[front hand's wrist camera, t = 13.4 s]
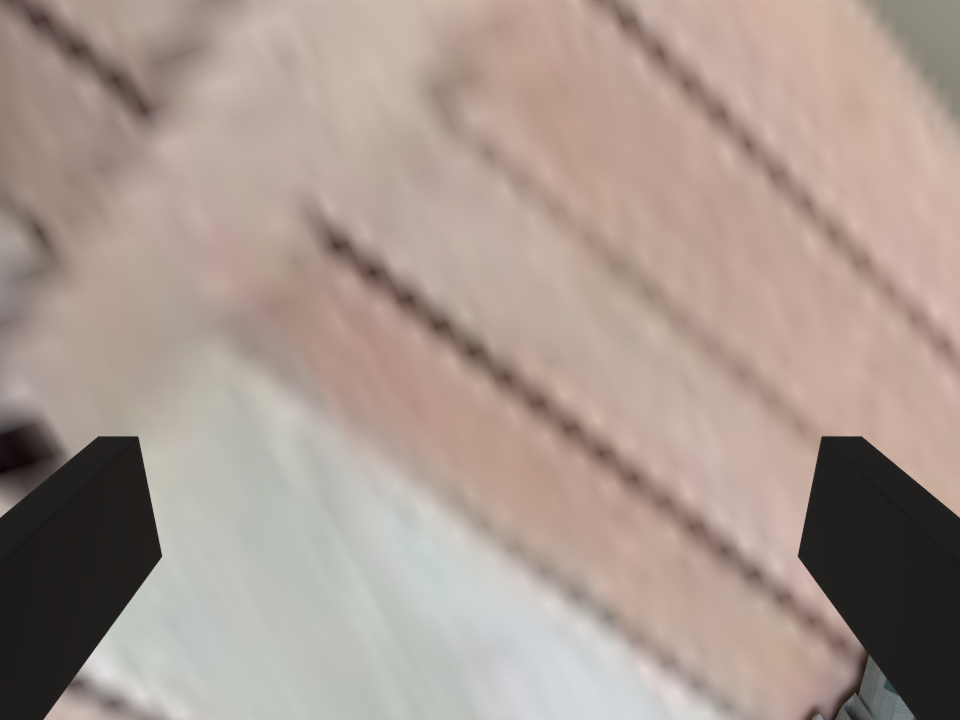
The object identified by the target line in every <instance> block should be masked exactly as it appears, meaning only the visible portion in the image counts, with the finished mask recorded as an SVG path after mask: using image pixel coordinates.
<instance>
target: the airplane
mask: <svg viewBox="0 0 960 720" xmlns="http://www.w3.org/2000/svg"><path fill="white" fill-rule="evenodd" d="M812 720H824V718H823V716H822V715H821V713H820V714H817V715H815V716H814V717H813V718H812ZM835 720H916V718H915V717H914V715H913V714H912V713H911V711H910V710H909V709H908V707H907V706H906V704H905V703H904V702H903V700H902V699H901V698H900V696H899V695H898V693H897V692H896V691H895V689H894V688H893V687H892V685H891V684H890V682H889V681H888V680H887V678H886V677H885V676H884V674H883V673H882V671H881V670H880V669H879V667H878V666H877V665H876V663H875V662H874V660H873V659H872V658H871V656H870V655H869V657H868V661H867V665H866V669H865V673H864V677H863V680H862V684H861V688H860V691H859V695H858V696H857V694H856V693H854V695H853V696H852V697H851V698H850V699H849V700H848V701H847V702H846V703H845V704H843V705H842V707H841V709H840V711H839V713H838V715H837V717H836V719H835Z"/></svg>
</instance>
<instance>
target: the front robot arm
mask: <svg viewBox="0 0 960 720" xmlns="http://www.w3.org/2000/svg"><path fill="white" fill-rule="evenodd" d="M161 557H162V553H161V548H160V543H159V538H158V533H157V528H156V523H155V518H154V513H153V508H152V503H151V498H150V493H149V488H148V483H147V478H146V473H145V468H144V463H143V458H142V453H141V448H140V443H139V438H138V436H98V437H97V438H96V439H95V440H93V441H92V442H91V443H90V444H89V445H87V446H86V447H85V448H84V449H83V450H81V451H80V452H79V453H78V454H77V455H75V456H74V457H73V458H72V459H71V460H69V461H68V462H67V463H66V464H65V465H63V466H62V467H61V468H60V469H59V470H57V471H56V472H55V473H54V474H52V475H51V476H50V477H49V478H48V479H46V480H45V481H44V482H43V483H42V484H40V485H39V486H38V487H37V488H36V489H34V490H33V491H32V492H31V493H30V494H28V495H27V496H26V497H25V498H24V499H22V500H21V501H20V502H19V503H18V504H16V505H15V506H14V507H13V508H12V509H10V510H9V511H8V512H7V513H5V514H4V515H3V516H2V517H1V518H0V720H44V718H45V717H46V715H47V714H48V713H49V711H50V710H51V709H52V707H53V706H54V704H55V703H56V702H57V700H58V699H59V698H60V696H61V695H62V693H63V692H64V691H65V689H66V688H67V687H68V685H69V684H70V682H71V681H72V680H73V678H74V677H75V676H76V674H77V673H78V671H79V670H80V669H81V667H82V666H83V665H84V663H85V662H86V660H87V659H88V658H89V656H90V655H91V654H92V652H93V651H94V649H95V648H96V647H97V645H98V644H99V643H100V641H101V640H102V638H103V637H104V636H105V634H106V633H107V632H108V630H109V629H110V627H111V626H112V625H113V623H114V622H115V621H116V619H117V618H118V616H119V615H120V614H121V612H122V611H123V610H124V608H125V607H126V606H127V604H128V603H129V601H130V600H131V599H132V597H133V596H134V595H135V593H136V592H137V590H138V589H139V588H140V586H141V585H142V584H143V582H144V581H145V579H146V578H147V577H148V575H149V574H150V573H151V571H152V570H153V568H154V567H155V566H156V564H157V563H158V562H159V560H160V559H161ZM798 557H799V559H800V560H801V562H802V563H803V564H804V566H805V567H806V568H807V570H808V571H809V573H810V574H811V575H812V577H813V578H814V579H815V581H816V582H817V584H818V585H819V586H820V588H821V589H822V590H823V592H824V593H825V595H826V596H827V597H828V599H829V600H830V601H831V603H832V604H833V606H834V607H835V608H836V610H837V611H838V612H839V614H840V615H841V616H842V618H843V619H844V621H845V622H846V623H847V625H848V626H849V627H850V629H851V630H852V632H853V633H854V634H855V636H856V637H857V638H858V640H859V641H860V643H861V644H862V645H863V647H864V648H865V649H866V651H867V652H868V654H869V655H870V656H871V658H872V659H873V660H874V662H875V663H876V665H877V666H878V667H879V669H880V670H881V671H882V673H883V674H884V676H885V677H886V678H887V680H888V681H889V682H890V684H891V685H892V687H893V688H894V689H895V691H896V692H897V693H898V695H899V696H900V698H901V699H902V700H903V702H904V703H905V704H906V706H907V707H908V709H909V710H910V711H911V713H912V714H913V715H914V717H915V718H916V720H960V518H959V517H958V516H957V515H956V514H955V513H953V512H952V511H951V510H950V509H948V508H947V507H946V506H945V505H944V504H942V503H941V502H940V501H939V500H938V499H936V498H935V497H934V496H933V495H932V494H930V493H929V492H928V491H927V490H926V489H924V488H923V487H922V486H921V485H920V484H918V483H917V482H916V481H915V480H914V479H912V478H911V477H910V476H909V475H908V474H906V473H905V472H904V471H903V470H901V469H900V468H899V467H898V466H897V465H895V464H894V463H893V462H892V461H891V460H889V459H888V458H887V457H886V456H885V455H883V454H882V453H881V452H880V451H879V450H877V449H876V448H875V447H874V446H873V445H871V444H870V443H869V442H868V441H867V440H865V439H864V438H863V437H862V436H822V438H821V443H820V448H819V453H818V458H817V463H816V468H815V473H814V478H813V483H812V488H811V493H810V498H809V503H808V508H807V513H806V518H805V523H804V528H803V533H802V538H801V543H800V548H799V553H798Z"/></svg>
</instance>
